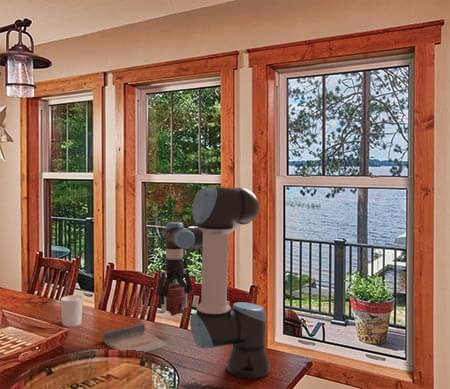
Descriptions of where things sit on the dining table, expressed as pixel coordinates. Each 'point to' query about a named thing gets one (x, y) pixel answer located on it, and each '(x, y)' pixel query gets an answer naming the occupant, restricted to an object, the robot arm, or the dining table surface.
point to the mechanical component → (175, 299)
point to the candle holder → (71, 310)
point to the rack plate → (132, 339)
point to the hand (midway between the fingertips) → (174, 309)
